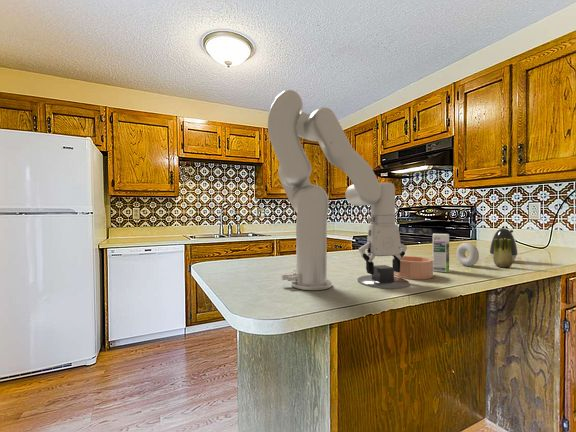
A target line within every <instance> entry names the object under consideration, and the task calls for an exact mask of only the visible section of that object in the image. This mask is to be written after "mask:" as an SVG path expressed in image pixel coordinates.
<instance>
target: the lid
mask: <svg viewBox="0 0 576 432" xmlns="http://www.w3.org/2000/svg"><path fill="white" fill-rule="evenodd" d="M409 282H410V281H409V280H407V279H406V278H400V277H397V276H395V275H394V268H393V266H389V265H386V264H383V265H379V264H378V265H374V274H373V275H371V274H368V275H362V276H359V277H358V278H357V283H358V284H360V285H362V286H365V287H369V288H374V289H375V288H376V289H387V290H388V289H389V290H394V289H395V290H397V289H403V288H408V287H409V285H410V283H409Z"/></svg>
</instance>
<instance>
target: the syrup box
mask: <svg viewBox="0 0 576 432" xmlns="http://www.w3.org/2000/svg"><path fill="white" fill-rule="evenodd" d="M432 260H433V272H438V273H439V272H440V273H448V274H449V273H450V234H449V233H432Z"/></svg>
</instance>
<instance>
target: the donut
mask: <svg viewBox="0 0 576 432" xmlns="http://www.w3.org/2000/svg"><path fill="white" fill-rule="evenodd" d="M466 252H468V254H469V255H468V257H467V256H466ZM455 255H456V256H455V257H456V259H457V261H458V262H459V263H460V264H461V265H463V266H465V267H473V266H475V265H476V264H477V263H478V261H479V257H480V254H479V250H478V248H477V247H476V245H474V244H472V243H470V242H463V243H460V244H459V245H458V246H457V248H456V253H455Z"/></svg>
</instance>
